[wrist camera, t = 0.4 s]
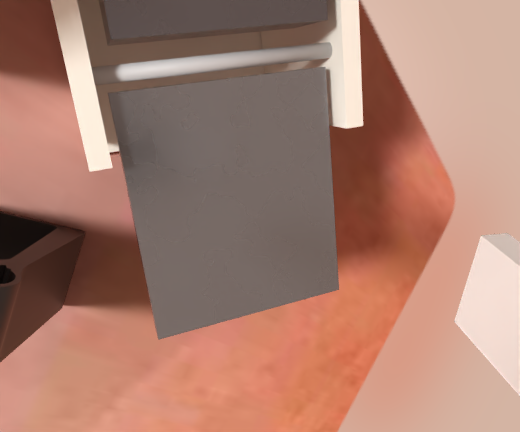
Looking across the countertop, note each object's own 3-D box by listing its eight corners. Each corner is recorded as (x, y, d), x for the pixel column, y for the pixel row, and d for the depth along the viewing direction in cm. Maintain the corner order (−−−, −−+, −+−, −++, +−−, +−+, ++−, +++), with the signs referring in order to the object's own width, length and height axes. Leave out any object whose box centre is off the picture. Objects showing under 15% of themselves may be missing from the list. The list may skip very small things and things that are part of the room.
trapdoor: (68, -95, 21) (63, -132, 17) (293, -98, 24) (329, -129, 20) (152, 318, 28) (162, 354, 24) (320, 274, 31) (351, 300, 27)
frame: (38, -86, 28) (5, -198, 17) (258, -89, 32) (351, -182, 21) (92, 153, 32) (94, 193, 21) (278, 124, 36) (364, 144, 25)
